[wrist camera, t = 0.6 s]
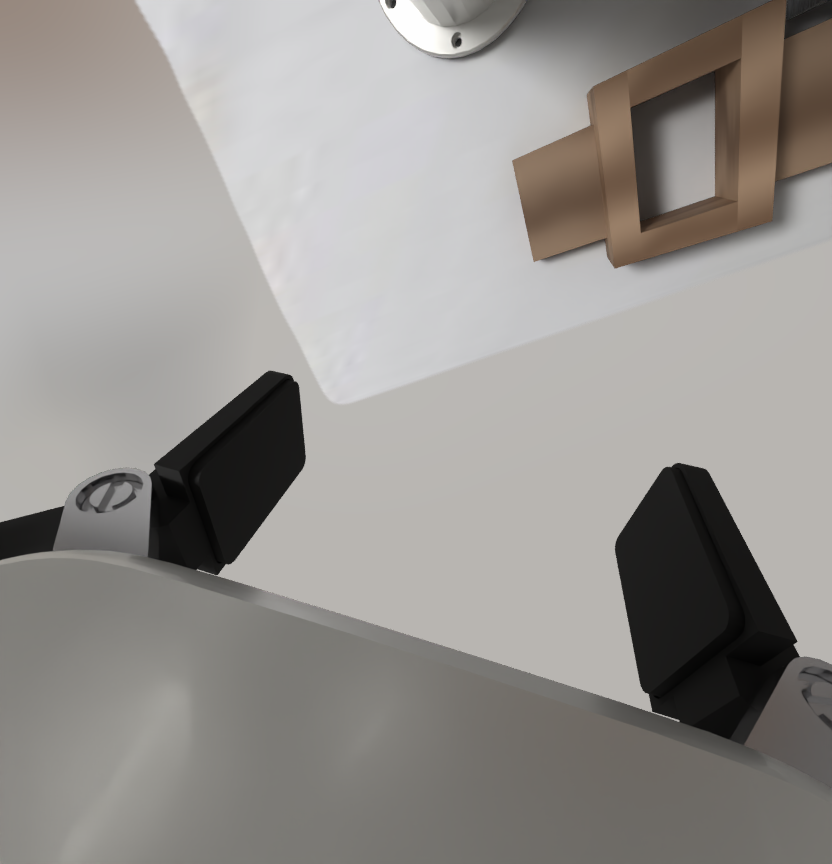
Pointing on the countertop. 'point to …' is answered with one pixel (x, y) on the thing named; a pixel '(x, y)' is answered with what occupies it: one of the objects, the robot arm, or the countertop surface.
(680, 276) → the countertop surface
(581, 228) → the socket
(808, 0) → the bracket
